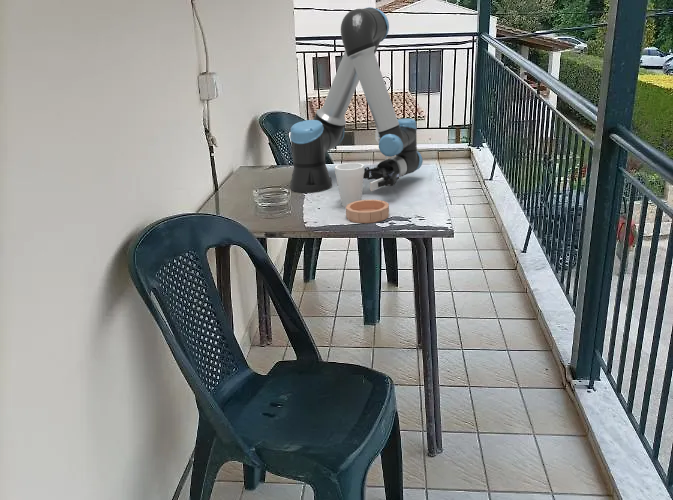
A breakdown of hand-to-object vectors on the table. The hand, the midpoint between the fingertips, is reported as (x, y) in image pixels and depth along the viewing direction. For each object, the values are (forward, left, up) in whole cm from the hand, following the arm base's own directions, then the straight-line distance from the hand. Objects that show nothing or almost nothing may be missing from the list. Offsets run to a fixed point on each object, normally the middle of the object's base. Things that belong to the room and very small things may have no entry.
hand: (353, 184), depth 207 cm
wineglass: (-20, +45, -7) cm, 50 cm away
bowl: (+11, -8, -7) cm, 15 cm away
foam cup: (-1, -1, -7) cm, 7 cm away
